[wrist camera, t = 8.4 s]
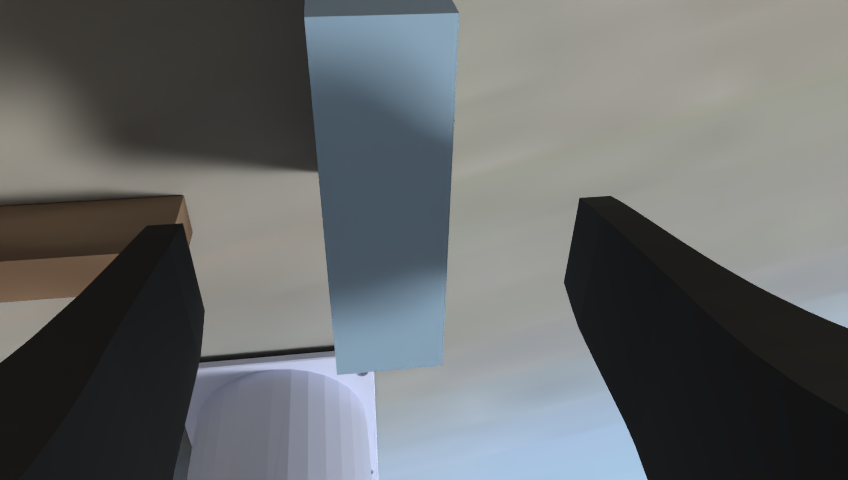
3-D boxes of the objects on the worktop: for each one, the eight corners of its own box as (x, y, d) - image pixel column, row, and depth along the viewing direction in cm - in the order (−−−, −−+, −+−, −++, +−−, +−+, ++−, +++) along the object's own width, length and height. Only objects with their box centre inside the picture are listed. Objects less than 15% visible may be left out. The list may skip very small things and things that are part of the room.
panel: (400, 168, 22) (442, 365, 15) (328, 172, 22) (337, 374, 15) (398, -93, 17) (459, 12, 10) (307, -92, 17) (304, 17, 10)
